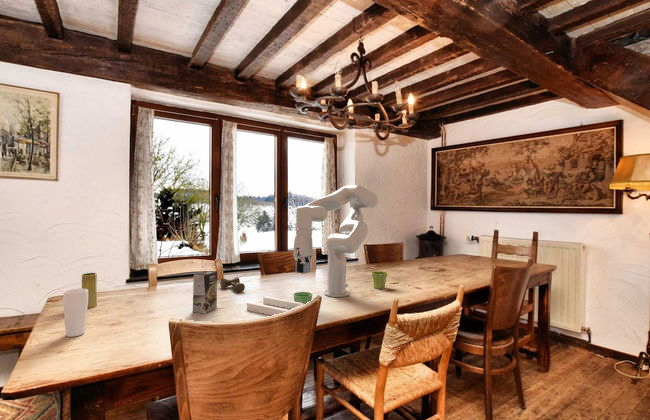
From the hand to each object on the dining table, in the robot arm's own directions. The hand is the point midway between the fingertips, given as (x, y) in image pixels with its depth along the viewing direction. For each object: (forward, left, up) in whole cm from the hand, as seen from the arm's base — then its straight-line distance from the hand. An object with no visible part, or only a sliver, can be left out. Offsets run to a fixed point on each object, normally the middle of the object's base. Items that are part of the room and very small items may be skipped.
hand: (303, 270), depth 153 cm
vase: (+55, -75, -15) cm, 94 cm away
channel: (+15, -4, -15) cm, 22 cm away
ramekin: (0, 0, -16) cm, 16 cm away
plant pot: (-49, +20, -15) cm, 55 cm away
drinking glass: (+73, -45, -15) cm, 87 cm away
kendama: (-2, -47, -16) cm, 49 cm away
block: (0, 0, -1) cm, 1 cm away
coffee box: (+31, -30, -15) cm, 46 cm away
